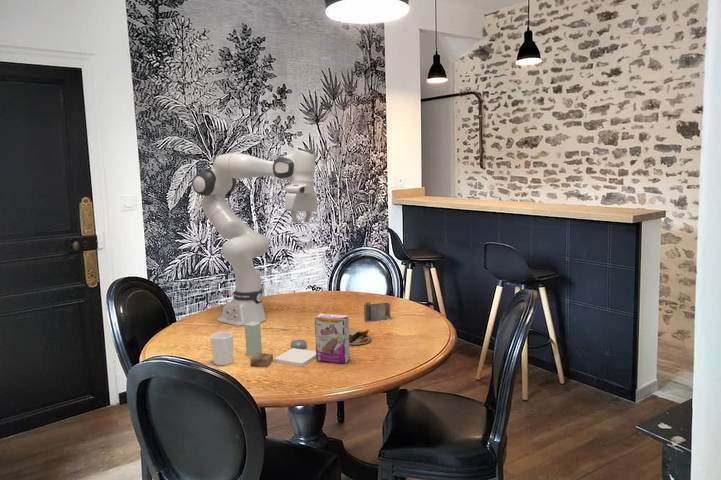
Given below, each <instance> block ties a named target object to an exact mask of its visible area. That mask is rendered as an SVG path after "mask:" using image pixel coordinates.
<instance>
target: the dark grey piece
mask: <svg viewBox="0 0 721 480" xmlns="http://www.w3.org/2000/svg"><path fill="white" fill-rule="evenodd" d="M363 311H364V312H363V313H364V317H363V318H364V321H365V323H368V321H370V322H372V321H373V322H380V321H381V320H383V321H390V320H391V318H392V317H391V303H390V302H380V303H378V302H377V303H371V301H366V302H364V304H363ZM389 319H390V320H389ZM373 322H372V323H373Z"/></svg>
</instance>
